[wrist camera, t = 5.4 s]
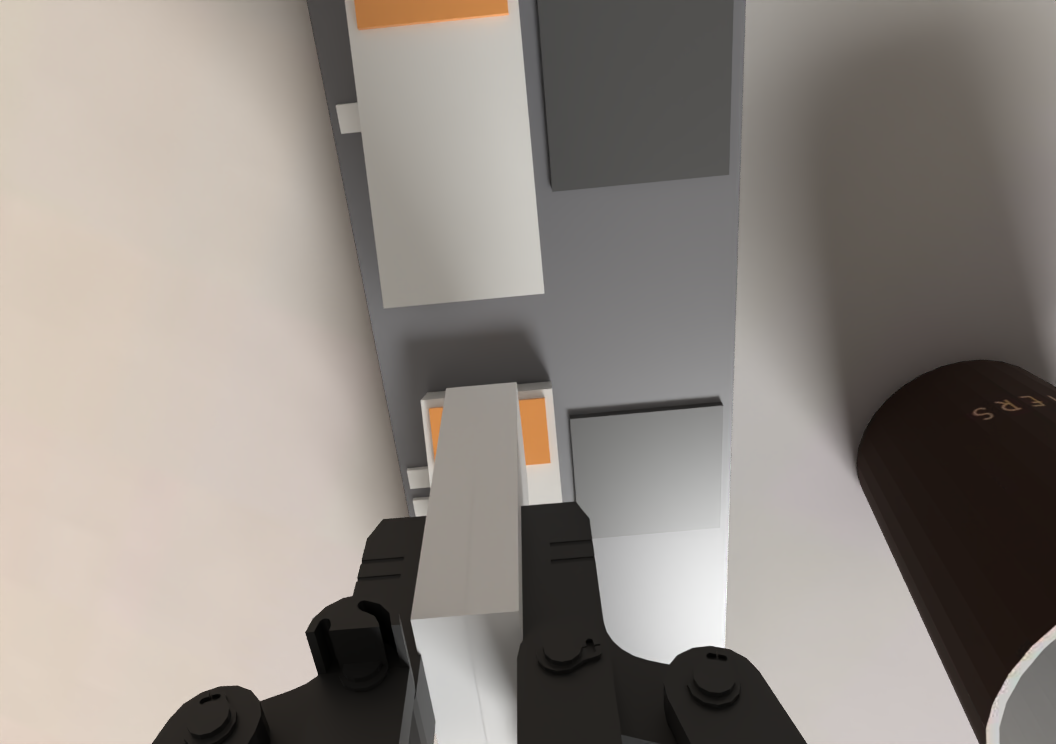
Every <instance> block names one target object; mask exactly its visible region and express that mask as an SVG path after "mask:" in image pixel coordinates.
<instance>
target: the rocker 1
mask: <svg viewBox="0 0 1056 744" xmlns="http://www.w3.org/2000/svg"><path fill="white" fill-rule="evenodd" d="M345 7H346V15H347V23H348V31H349V38H350V46H351V54H352V62H353V70H354V78H355V86H356V94H357V102H358V109H359V117H360V125H361V133H362V141H363V149H364V157H365V165H366V173H367V181H368V188H369V196H370V204H371V212H372V220H373V228H374V236H375V244H376V252H377V260H378V267H379V275H380V283H381V291H382V299H383V307H384V308H395V307H406V306H416V305H427V304H438V303H449V302H459V301H470V300H481V299H492V298H502V297H513V296H524V295H534V294H545V293H544V282H543V271H542V260H541V248H540V237H539V226H538V215H537V204H536V193H535V182H534V170H533V159H532V148H531V137H530V126H529V115H528V104H527V92H526V81H525V70H524V59H523V48H522V37H521V26H520V14H519V3H518V0H345Z"/></svg>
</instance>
